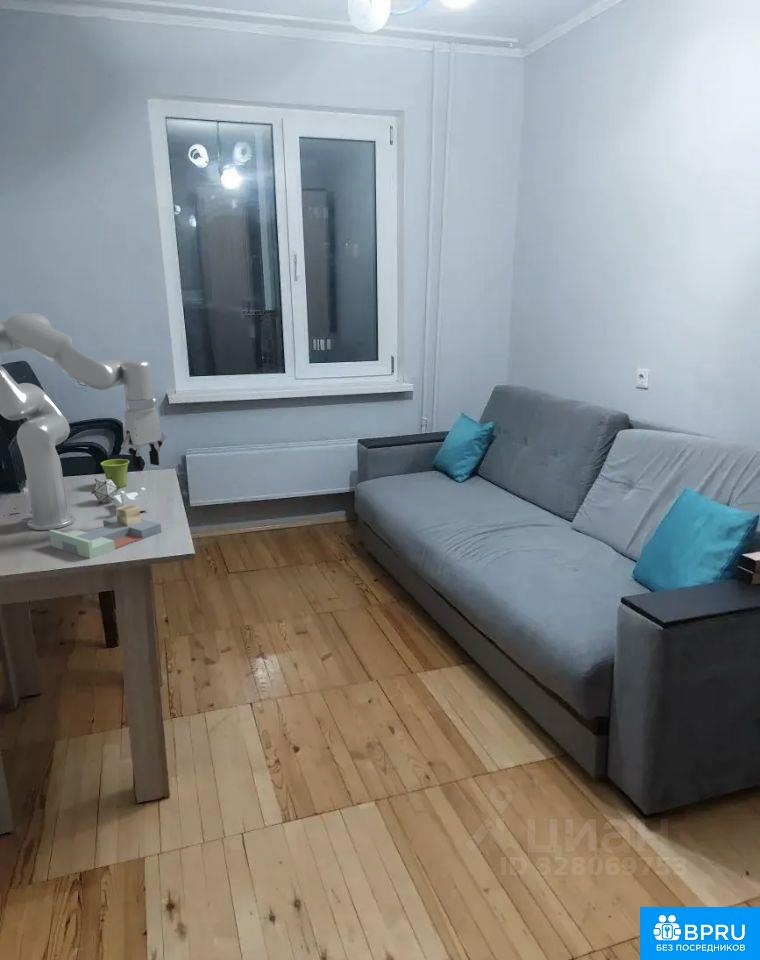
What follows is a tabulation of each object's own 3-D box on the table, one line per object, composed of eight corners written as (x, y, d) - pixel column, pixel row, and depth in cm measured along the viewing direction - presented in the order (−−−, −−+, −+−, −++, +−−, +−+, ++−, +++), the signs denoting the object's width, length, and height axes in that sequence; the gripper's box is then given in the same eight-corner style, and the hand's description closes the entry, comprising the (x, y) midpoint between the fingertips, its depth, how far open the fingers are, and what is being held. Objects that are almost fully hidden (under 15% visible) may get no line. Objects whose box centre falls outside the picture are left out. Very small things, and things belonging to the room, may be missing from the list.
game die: (111, 514, 223) (111, 495, 216) (86, 505, 223) (85, 486, 215) (124, 494, 229) (124, 475, 222) (99, 485, 229) (99, 466, 222)
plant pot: (126, 480, 248) (123, 457, 246) (135, 486, 241) (133, 462, 238) (100, 485, 242) (96, 461, 240) (108, 491, 235) (105, 467, 233)
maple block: (117, 523, 196) (115, 508, 194) (130, 519, 199) (129, 504, 198) (127, 526, 193) (126, 511, 192) (140, 521, 197) (139, 506, 196)
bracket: (148, 512, 214) (146, 489, 212) (125, 516, 210) (122, 493, 208) (137, 502, 224) (134, 480, 222) (114, 506, 220) (112, 483, 218)
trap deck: (51, 546, 186) (49, 530, 185) (122, 521, 205) (121, 507, 203) (90, 558, 177) (88, 542, 176) (161, 532, 196) (159, 517, 194)
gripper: (155, 399, 202) (161, 459, 207) (105, 408, 189) (113, 471, 194) (173, 401, 199) (178, 462, 204) (123, 410, 185) (130, 475, 190)
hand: (146, 466), depth 199 cm, fingers open, 5 cm apart
